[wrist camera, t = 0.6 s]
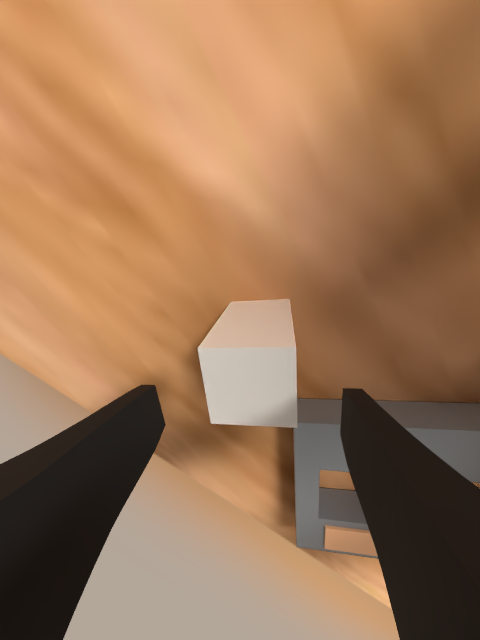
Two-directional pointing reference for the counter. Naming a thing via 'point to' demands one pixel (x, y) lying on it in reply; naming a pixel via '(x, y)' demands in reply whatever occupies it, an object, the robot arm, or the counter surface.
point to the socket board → (328, 454)
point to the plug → (251, 365)
